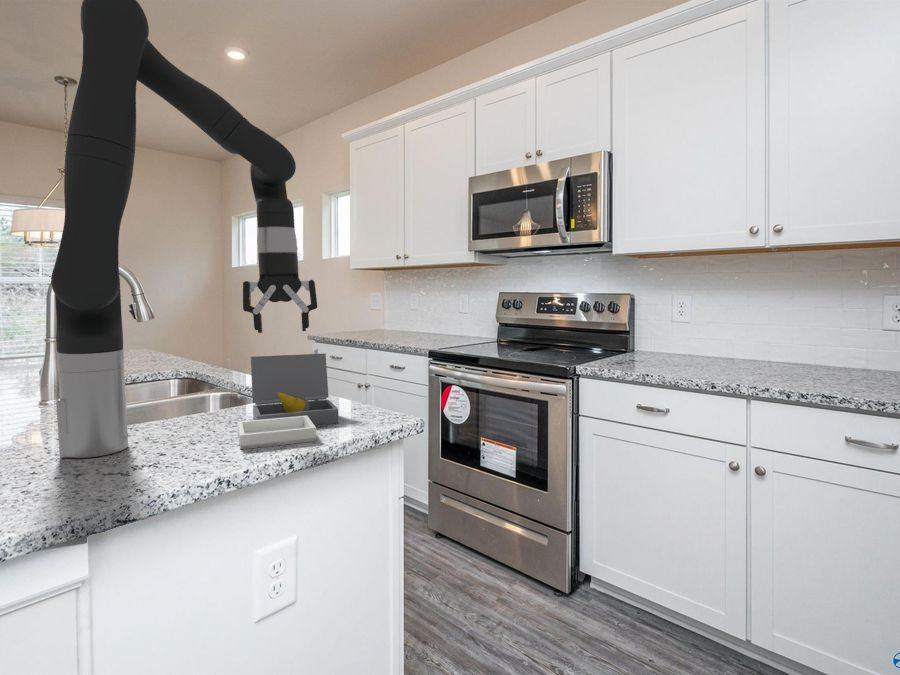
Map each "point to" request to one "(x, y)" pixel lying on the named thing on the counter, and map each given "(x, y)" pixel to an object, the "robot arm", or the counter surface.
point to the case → (318, 415)
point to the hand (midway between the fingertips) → (282, 331)
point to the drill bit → (293, 403)
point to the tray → (275, 432)
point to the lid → (289, 377)
